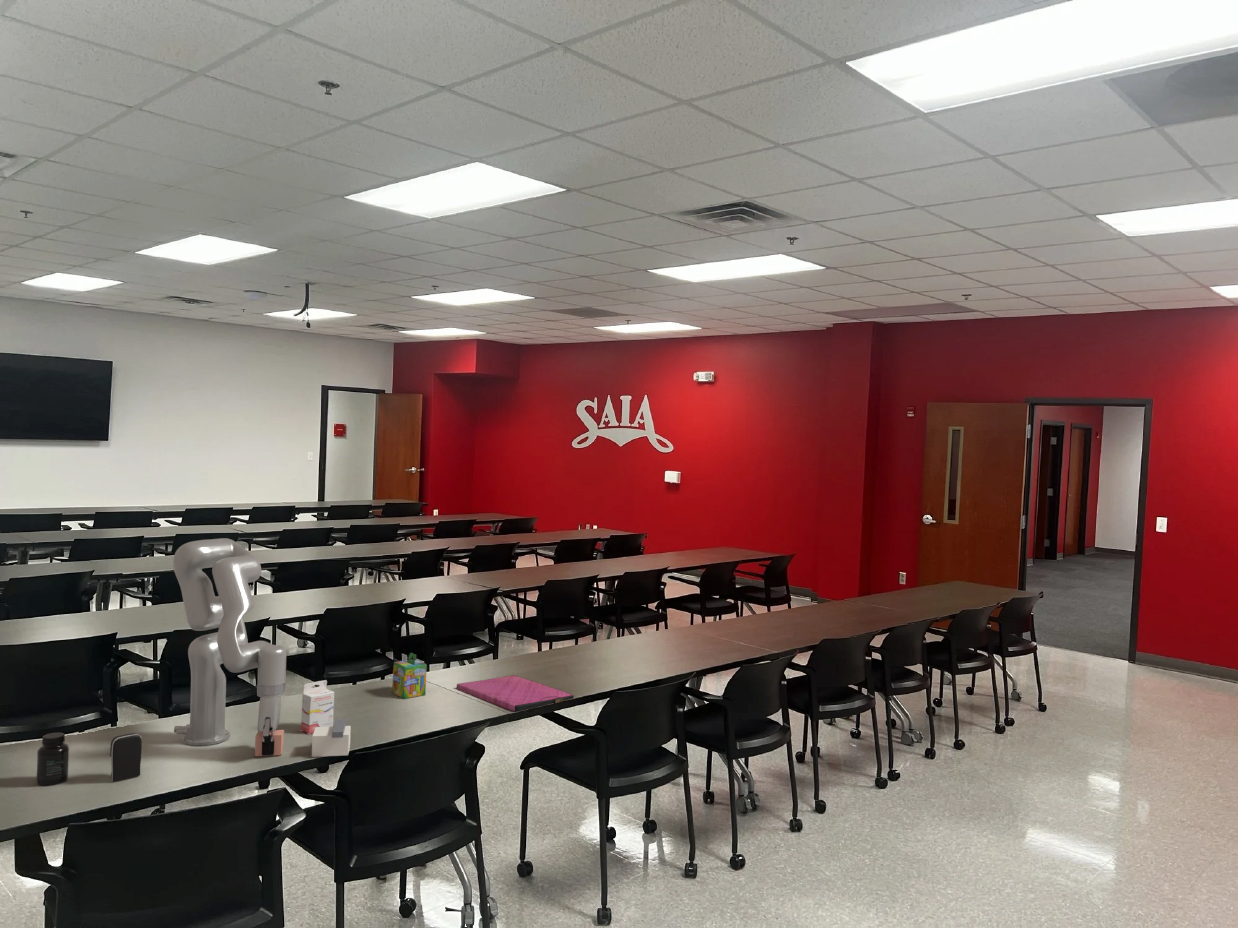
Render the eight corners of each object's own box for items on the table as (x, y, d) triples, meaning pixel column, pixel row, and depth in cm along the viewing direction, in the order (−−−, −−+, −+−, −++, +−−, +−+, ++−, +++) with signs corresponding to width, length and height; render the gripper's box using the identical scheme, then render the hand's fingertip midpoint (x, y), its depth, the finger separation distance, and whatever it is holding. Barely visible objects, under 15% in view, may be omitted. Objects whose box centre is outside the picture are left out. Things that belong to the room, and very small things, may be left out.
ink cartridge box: (309, 734, 262) (310, 687, 262) (300, 730, 265) (302, 684, 265) (333, 728, 269) (335, 682, 268) (325, 724, 272) (326, 678, 271)
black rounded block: (136, 772, 228) (138, 730, 228) (141, 776, 225) (142, 733, 225) (107, 778, 223) (108, 735, 223) (112, 783, 220) (113, 739, 220)
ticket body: (308, 759, 242) (309, 733, 242) (313, 744, 253) (314, 719, 253) (347, 757, 244) (348, 731, 244) (350, 743, 256) (351, 718, 256)
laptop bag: (456, 679, 317) (513, 669, 336) (455, 690, 317) (512, 679, 336) (522, 704, 289) (581, 692, 308) (522, 715, 289) (580, 703, 308)
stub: (254, 756, 242) (255, 735, 242) (257, 750, 246) (258, 730, 246) (280, 754, 243) (281, 734, 243) (283, 749, 248) (283, 729, 248)
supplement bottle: (37, 778, 221) (38, 733, 221) (68, 774, 225) (69, 729, 224) (35, 788, 215) (36, 741, 215) (67, 783, 219) (68, 737, 219)
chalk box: (391, 693, 308) (392, 652, 308) (414, 689, 314) (415, 649, 314) (403, 699, 301) (404, 658, 301) (426, 695, 307) (427, 654, 307)
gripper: (262, 681, 252) (260, 741, 252) (252, 698, 235) (250, 762, 236) (289, 680, 254) (287, 740, 254) (280, 697, 237) (278, 761, 237)
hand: (269, 750), depth 245 cm, fingers closed on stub, 4 cm apart
